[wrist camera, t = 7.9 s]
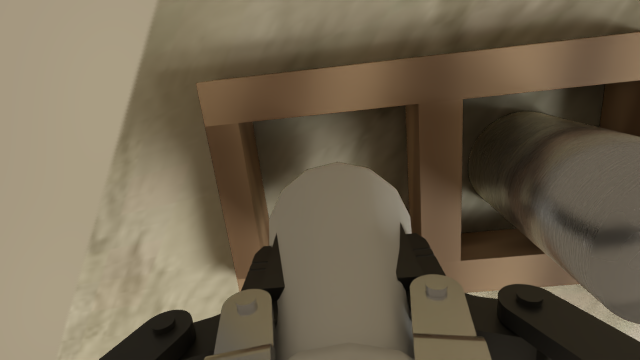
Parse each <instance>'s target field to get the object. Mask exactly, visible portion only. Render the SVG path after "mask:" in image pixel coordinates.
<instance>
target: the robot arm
mask: <svg viewBox="0 0 640 360" xmlns="http://www.w3.org/2000/svg"><path fill="white" fill-rule="evenodd" d="M396 275H397V279H398V281H399V282H401V283H402V285H403V287H404V288H405V290H406V296H407V300H408V305H409V309H410V313H411V320H412V337H413V354H414V360H640V342H639V341H637V340H636V339H634V338H632V337H630V336H628V335H626V334H625V333H623V332H621V331H619V330H617V329H616V328H614V327H612V326H610V325H608V324H607V323H605V322H603V321H601V320H599V319H598V318H596V317H594V316H592V315H590V314H589V313H587V312H585V311H583V310H581V309H580V308H578V307H576V306H574V305H572V304H570V303H569V302H567V301H565V300H563V299H561V298H560V297H558V296H556V295H554V294H552V293H551V292H549V291H547V290H545V289H542V288H540V287H537V286H533V285H528V284H511V285H507V286H505V287H503V288H502V289H500V291H499V293H498V299H493V298H485V297H478V296H473V295H469V294H467V293H464V290H463V287H462V286H461V285H460V283H458V282H457V281H456V280H454V279H452V278H450V277H447V276H446V275H445V273H444V271H443V269H442V267H441V266H440V264H439V262H438V260H437V258H436V257H435V256H434V253H433V251H432V249H431V247H430V246H429V244H428V242H427V240H426V239H425V238H423V237H422V236H420V235H419V234H417V233H411V234H405V231H404V229H403V227H402V225H401V222H400V248H399V254H398V261H397V268H396ZM284 288H285V284H284V277H283V271H282V264H281V258H280V251H279V245H278V238H277V233H276V236H275V239H274V243H273V246H263V247H262V248H261V249H260V250H259V251H258V252H257V253H256V254H255V255H254V258H253V261H252V264H251V266H250V268H249V271H248V274H247V276H246V279H245V281H244V284H243V287H242V289H241V291H240V292H238V293H236V294H234V295H232V296H231V297H229V298H228V299H227V300H226V301H225V302H224V304H223V306H222V310H221V314H219V315H217V316H214V317H211V318H208V319H204V320H201V321H198V322H194V323H193V320H192V317H191V315H190V313H188V312H187V311H184V310H171V311H167V312H164V313H161V314H159V315H157V316H155V317H153V318H151V319H150V320H148V321H147V322H146V323H144V324H143V325H142V326H141V327H139V328H138V329H137V330H135V331H134V332H133V333H132V334H130V335H129V336H128V337H127V338H125V339H124V340H123V341H122V342H120V343H119V344H118V345H117V346H115V347H114V348H113V349H112V350H110V351H109V352H108V353H107V354H105V355H104V356H103V357H102V358H100V359H99V360H276V341H275V327H276V324H277V317H278V305H277V300H278V299H279V298H280V296H281V294H282V292H283V290H284Z"/></svg>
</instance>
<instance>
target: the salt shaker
mask: <svg viewBox="0 0 640 360" xmlns="http://www.w3.org/2000/svg"><path fill="white" fill-rule="evenodd" d="M400 222H401V225H402V227H403V229H404V231H405V234H411V233H412V231H411V220H410V215H409V213H408V211H407V209H406V207H405V205H404V203H403V201H402V199H401V197H400V195H399V193H398V191H397V189H396V188H394V187H393V186H392V185H391V184H389V183H388V182H387V181H385V180H384V179H383V178H381V177H380V176H379V175H377V174H376V173H375V172H373V171H372V170H371V169H369V168H367V167H361V166H356V165H351V164H346V163H340V162H335V163H331V164H327V165H323V166H319V167H315V168H311V169H307V170H306V171H305V172H303V173H302V174H301V175H300V176H299V177H297V178H296V179H295V180H294V181H293V182H291V183H290V184H289V185H288V186H286V187H285V188H284V189H283V190H282V191H281V193H280V195H279V198H278V200H277V202H276V205H275V207H274V209H273V211H272V214H271V216H270V218H269V246H273V243H274V239H275V236H276V233H277V238H278V245H279V251H280V258H281V264H282V271H283V277H284V284H285V288H284V290H283V292H282V294H281V296H280V298H279V299H278V300H277V305H278V317H277V324H276V327H275V341H276V360H414V354H413V337H412V320H411V313H410V309H409V305H408V300H407V296H406V290H405V288H404V287H403V285H402V283H401V282H399V281H398V279H397V275H396V268H397V261H398V254H399V248H400Z"/></svg>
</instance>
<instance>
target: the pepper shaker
mask: <svg viewBox="0 0 640 360" xmlns="http://www.w3.org/2000/svg"><path fill="white" fill-rule="evenodd" d="M468 174H469V179H470V181H471V184H472V186H473V188H474V189H475V191H476V192H477V193H478V194H479V195H480V196H481V197H482V198H483V199H484V200H485V201H486V202H488V203H489V204H490V205H491V206H492V207H493V208H494V209H495V210H497V211H498V212H499V213H500V214H501V215H502V216H503V217H505V218H506V219H507V220H508V221H509V222H510V223H511V224H512V225H514V226H515V227H516V228H517V229H518V230H519V231H520V232H521V233H523V234H524V235H525V236H526V237H527V238H528V239H529V240H531V241H532V242H533V243H534V244H535V245H536V246H537V247H538V248H540V249H541V250H542V251H543V252H544V253H545V254H546V255H548V256H549V257H550V258H551V259H552V260H553V261H554V262H555V263H557V264H558V265H559V266H560V267H561V268H562V269H563V270H564V271H566V272H567V273H568V274H569V275H570V276H571V277H572V278H574V279H575V280H576V281H577V282H578V283H579V284H580V285H581V286H583V287H584V288H585V289H586V290H587V291H588V292H589V293H591V294H592V295H593V296H594V297H595V298H596V299H597V300H598V301H600V302H601V303H602V304H603V305H604V306H605V307H606V308H607V309H609V310H610V311H611V312H613V313H614V314H616V315H617V316H619V317H621V318H623V319H625V320H628V321H630V322H633V323H637V324H640V137H638V136H634V135H630V134H626V133H622V132H618V131H613V130H609V129H605V128H601V127H597V126H593V125H588V124H584V123H580V122H576V121H572V120H568V119H564V118H559V117H555V116H551V115H547V114H543V113H538V112H532V111H521V112H515V113H512V114H508V115H506V116H503V117H501V118H499V119H498V120H496V121H494V122H493V123H491V124H490V125H489V126H488V127H487V128H486V129H484V130H483V132H482V133H481V134H480V135H479V136H478V138H477V139H476V141H475V143H474V145H473V147H472V149H471V152H470V155H469V160H468Z"/></svg>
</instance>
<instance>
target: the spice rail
mask: <svg viewBox="0 0 640 360" xmlns="http://www.w3.org/2000/svg"><path fill="white" fill-rule="evenodd" d="M599 84H605V90H604V98H603V105H602V113H601V120H600V127H601V128H605V129H609V130H613V131H618V132H622V133H626V134H630V135H634V136H638V137H640V32H631V33H623V34H614V35H605V36H596V37H588V38H579V39H570V40H561V41H553V42H544V43H535V44H526V45H518V46H509V47H500V48H491V49H483V50H474V51H465V52H456V53H448V54H439V55H430V56H421V57H413V58H404V59H395V60H386V61H378V62H369V63H360V64H351V65H343V66H334V67H325V68H316V69H308V70H299V71H290V72H281V73H272V74H264V75H255V76H246V77H237V78H229V79H220V80H212V81H206V82H200V83H196V86H197V91H198V96H199V101H200V105H201V110H202V115H203V120H204V125H205V129H206V134H207V139H208V144H209V148H210V153H211V158H212V163H213V167H214V172H215V177H216V182H217V186H218V191H219V196H220V201H221V205H222V210H223V215H224V220H225V224H226V229H227V234H228V239H229V244H230V248H231V253H232V258H233V263H234V267H235V272H236V277H237V282H238V286H239V291H241V289H242V287H243V284H244V281H245V279H246V276H247V274H248V271H249V268H250V266H251V264H252V261H253V258H254V255H255V254H256V253H257V252H258V251H259V250H260V249H261V248H262V247H263V246H269V217H268V211H267V205H266V199H265V193H264V187H263V181H262V175H261V169H260V163H259V157H258V151H257V145H256V139H255V133H254V127H253V121H263V120H272V119H281V118H291V117H300V116H310V115H319V114H328V113H338V112H347V111H356V110H366V109H375V108H384V107H394V106H403V105H405V107H406V136H407V165H408V194H409V215H410V220H411V231H412V233H417V234H419V235H420V236H422V237H423V238H425V239H426V240H427V242H428V244H429V246H430V247H431V249H432V251H433V253H434V256H435V257H436V258H437V260H438V262H439V264H440V266H441V267H442V269H443V271H444V273H445V275H446V276H447V277H450V278H452V279H454V280H456V281H457V282H458V283H460V285H461V286H462V287H463V290H464V293H468V292H481V291H494V290H500V289H502V288H503V287H505V286H507V285H511V284H528V285H533V286H537V287H546V286H559V285H572V284H579V283H578V282H577V281H576V280H575V279H574V278H572V277H571V276H570V275H569V274H568V273H567V272H566V271H564V270H563V269H562V268H561V267H560V266H559V265H558V264H557V263H555V262H554V261H553V260H552V259H551V258H550V257H549V256H548V255H546V254H545V253H544V252H543V251H542V250H541V249H540V248H538V247H537V246H536V245H535V244H534V243H533V242H532V241H531V240H529V239H528V238H527V237H526V236H525V235H524V234H523V233H521V232H520V231H519V230H518V229H517V228H516V229H505V230H493V231H482V232H470V233H461V198H462V131H463V99H468V98H478V97H487V96H497V95H506V94H515V93H525V92H534V91H543V90H553V89H562V88H571V87H581V86H590V85H599Z"/></svg>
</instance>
